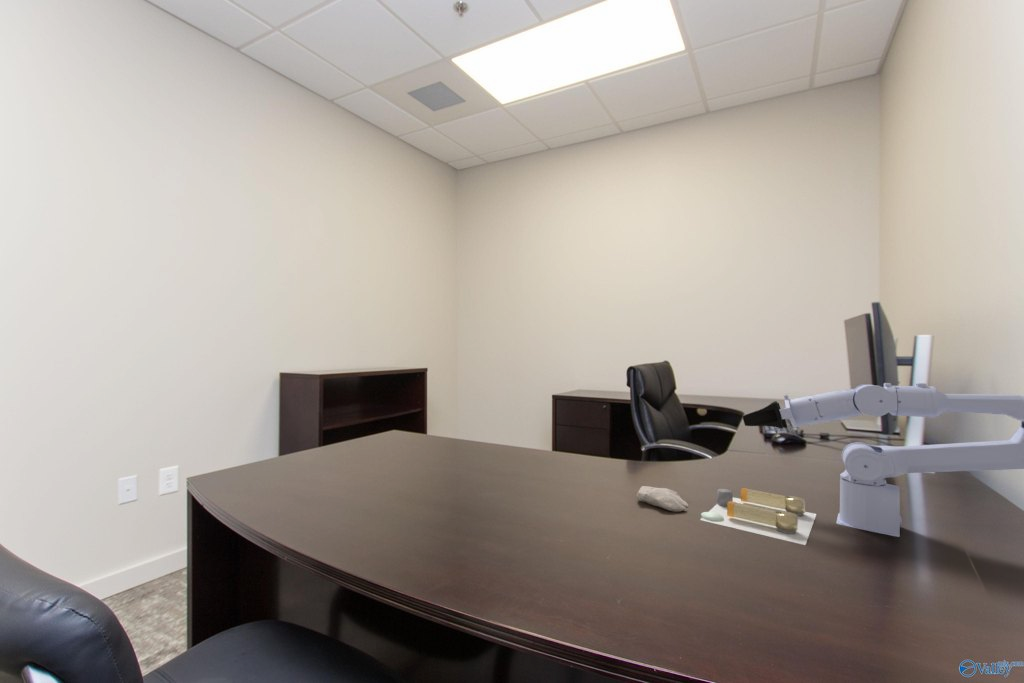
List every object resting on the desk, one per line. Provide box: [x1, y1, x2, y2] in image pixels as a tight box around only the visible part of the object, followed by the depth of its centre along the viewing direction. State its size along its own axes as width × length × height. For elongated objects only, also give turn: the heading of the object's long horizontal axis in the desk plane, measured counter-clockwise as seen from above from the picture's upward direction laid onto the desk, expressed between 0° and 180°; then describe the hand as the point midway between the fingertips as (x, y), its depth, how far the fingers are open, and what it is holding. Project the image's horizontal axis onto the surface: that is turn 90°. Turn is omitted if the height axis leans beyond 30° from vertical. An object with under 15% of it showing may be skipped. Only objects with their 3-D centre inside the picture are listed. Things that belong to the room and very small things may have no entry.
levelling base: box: [699, 488, 817, 546], centre depth 92 cm, size 18×20×4 cm
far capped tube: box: [740, 487, 806, 514], centre depth 97 cm, size 12×4×2 cm, turn 52°
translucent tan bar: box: [727, 501, 798, 531], centre depth 87 cm, size 12×4×2 cm, turn 52°
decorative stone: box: [635, 485, 689, 513], centre depth 100 cm, size 11×4×15 cm
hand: (746, 420), depth 101 cm, fingers open, 7 cm apart
